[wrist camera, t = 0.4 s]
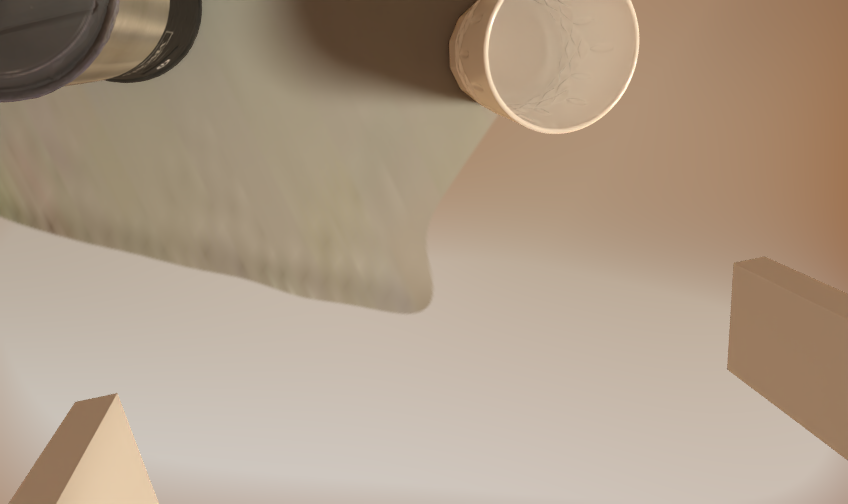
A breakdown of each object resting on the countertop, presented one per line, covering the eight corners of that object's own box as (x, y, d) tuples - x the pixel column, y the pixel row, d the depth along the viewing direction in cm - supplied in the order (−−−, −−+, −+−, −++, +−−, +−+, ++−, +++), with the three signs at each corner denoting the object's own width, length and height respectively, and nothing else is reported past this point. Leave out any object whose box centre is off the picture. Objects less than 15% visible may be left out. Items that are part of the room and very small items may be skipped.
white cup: (545, -31, 36) (628, -62, 26) (567, 96, 39) (649, 108, 29) (424, 4, 35) (466, -16, 26) (455, 130, 38) (503, 153, 29)
